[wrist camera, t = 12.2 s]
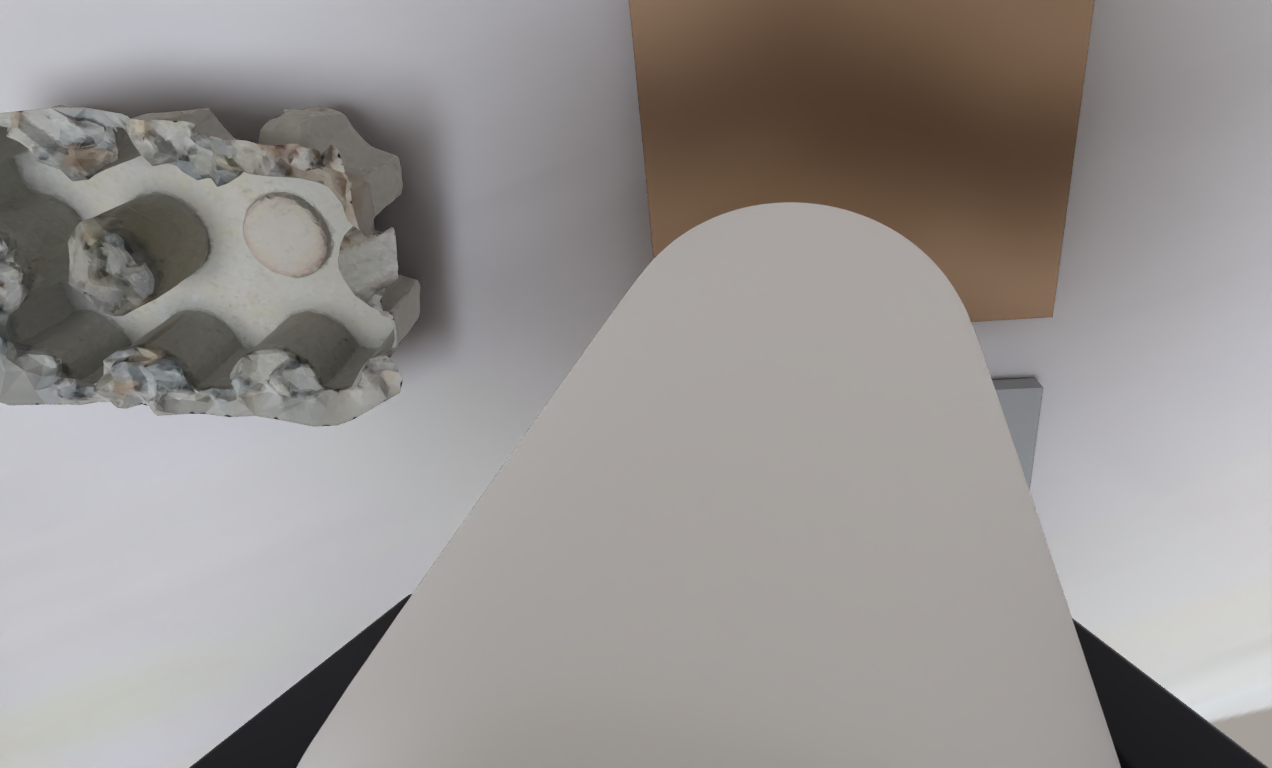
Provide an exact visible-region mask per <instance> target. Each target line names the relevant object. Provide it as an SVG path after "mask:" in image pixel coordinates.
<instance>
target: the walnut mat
mask: <svg viewBox="0 0 1272 768" xmlns="http://www.w3.org/2000/svg"><path fill="white" fill-rule="evenodd" d="M629 6H630V16H631V26H632V37H633V47H634V58H635V68H636V79H637V89H638V99H639V110H640V120H641V131H642V141H643V152H644V162H645V172H646V183H647V193H648V204H649V214H650V225H651V235H652V245H653V256H654V258H655V257H656V256H657V255H658V254H659V253H660V252H662V251H663V250H664V249H665V248H666V247H667V246H668V245H669V244H671V243H672V242H673V241H674V240H676V239H677V238H678V237H680V236H681V235H683V234H684V233H686V232H687V231H689V230H691V229H692V228H694V227H696V226H697V225H699V224H701V223H703V222H705V221H707V220H710V219H712V218H714V217H717V216H719V215H722V214H724V213H727V212H730V211H734V210H737V209H741V208H745V207H750V206H755V205H761V204H769V203H783V202H799V203H812V204H820V205H827V206H832V207H837V208H841V209H845V210H848V211H851V212H855V213H857V214H860V215H863V216H866V217H868V218H870V219H873V220H875V221H877V222H879V223H881V224H883V225H885V226H887V227H889V228H891V229H893V230H894V231H896V232H897V233H899V234H901V235H902V236H904V237H905V238H907V239H908V240H909V241H911V242H912V243H913V244H915V245H916V246H917V247H918V248H919V249H921V250H922V251H923V252H924V253H925V254H926V255H927V256H928V257H929V258H930V259H931V260H932V261H933V262H934V263H935V264H936V265H937V266H938V267H939V268H940V270H941V271H942V272H943V273H944V275H945V276H946V277H947V278H948V280H949V281H950V283H951V284H952V286H953V287H954V289H955V291H956V292H957V294H958V296H959V297H960V299H961V301H962V303H963V305H964V307H965V309H966V311H967V313H968V316H969V318H970V321H971V322H976V321H993V320H1010V319H1028V318H1045V317H1053V310H1054V302H1055V295H1056V287H1057V279H1058V272H1059V264H1060V257H1061V249H1062V242H1063V234H1064V227H1065V219H1066V211H1067V204H1068V196H1069V189H1070V181H1071V174H1072V166H1073V159H1074V151H1075V143H1076V136H1077V128H1078V121H1079V113H1080V106H1081V98H1082V91H1083V83H1084V75H1085V68H1086V60H1087V53H1088V45H1089V38H1090V30H1091V23H1092V15H1093V7H1094V0H629Z"/></svg>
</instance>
